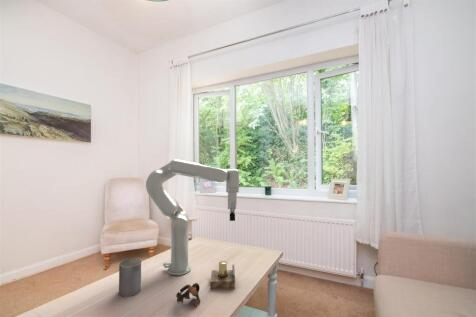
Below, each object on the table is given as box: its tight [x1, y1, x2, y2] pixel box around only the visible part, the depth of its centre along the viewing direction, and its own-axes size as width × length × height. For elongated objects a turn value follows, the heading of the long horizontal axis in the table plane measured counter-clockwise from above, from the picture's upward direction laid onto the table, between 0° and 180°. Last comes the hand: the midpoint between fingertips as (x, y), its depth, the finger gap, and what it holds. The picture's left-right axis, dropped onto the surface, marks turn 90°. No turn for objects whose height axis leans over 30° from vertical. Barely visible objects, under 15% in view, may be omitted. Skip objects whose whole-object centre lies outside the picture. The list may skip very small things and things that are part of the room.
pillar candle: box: [118, 258, 142, 298], centre depth 112 cm, size 10×10×15 cm
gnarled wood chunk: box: [175, 282, 201, 308], centre depth 104 cm, size 12×10×8 cm
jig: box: [209, 264, 236, 290], centre depth 121 cm, size 12×12×6 cm
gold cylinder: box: [218, 260, 228, 278], centre depth 121 cm, size 4×4×10 cm
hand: (232, 220), depth 140 cm, fingers closed
